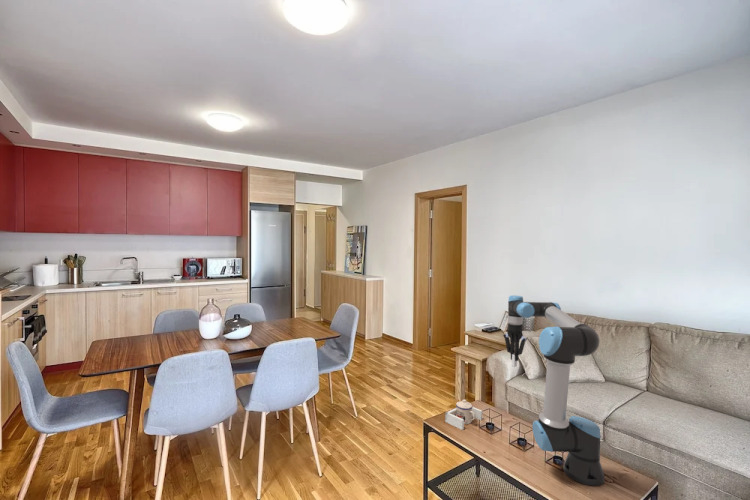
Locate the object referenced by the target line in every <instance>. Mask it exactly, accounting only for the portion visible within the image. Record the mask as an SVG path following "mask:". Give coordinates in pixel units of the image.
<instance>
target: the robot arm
mask: <svg viewBox="0 0 750 500" xmlns="http://www.w3.org/2000/svg"><path fill="white" fill-rule="evenodd" d="M507 303H508V306H507V307H508V309H507V313H508V314H507V317H508V318H507V322H508V323H507V333H505V334H502V335H503V337H504V342H505V346H506V351H507V353H509V354H510V360H511V367H514V368H515V367H517V366H518V361H519V356H521V355H522V354H523V352H524V348H525V344H526V341H527V340H528V338H527V337H526V336H525V337H524V335H523V327H524V326H523V322H524V321H523V320H524V319H523V318H526V319H528V318H531V317H534V318H535V317H537V318H546V319H547V320H548V321H550V322H551V323H553V325H555V326H547V327H545V328H543V330H542V331H541V332H540V335H539V338H538V346H539V350H540V352H541V354H542V355H543V357H544V360H545V361H547V362H546V373H545V387H544V400H543V411H542V412H540V413H539V415H538V420H533V422H532V434H533V437H534V440H535V443H536V444H537V446H538V447H539V449H540V450H542V451H544V452H550V453H553V452H555V453H556V452H557V453H558V452H563V453H564V452H565V453H567V455H566V458H565V461H564V463H563V472H564V473H565V475H566V476H567V477H568V478H570V479H571V480H573V481H575V482H577V483H579V484H583V485H585V486H591V487H596V486H601V485H603V484H604V483H605V473H604V469H603V466H602V464H601V438H602V437H601V435H602V434H601V428H600V427H599V426H598V424H596V423H595V422H594V421H592V420H590V419H588V418H585V417H581V416H576V415H572V416H569V419H567V418H566V417H567V405H568V404H567V403H568V394H569V385H570V384H569V383H570V371H571V370H570V369H571V365H574V364H575V362H576V357H586V356H590V355H592V354H594V353H595V352H596V351H598V348H599V346H600V336H599V334H598V332H596V330H595V329H594V328H592V327H591V326H589V325H588V324H585V323H581V322H579V321H578V320H576V319H575V318H573V317H571V316H570V315H569V314H567V313H565V312H564V311H563V310H562V308H561V306H560V304H559V303H557V302H552V301H547V302H545V301H544V302H543V301H542V302H539V301H537V302H536V301H524V298H523V296H521V295H515V294H514V295H509V296H508V302H507Z"/></svg>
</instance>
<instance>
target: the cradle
mask: <svg viewBox="0 0 750 500" xmlns="http://www.w3.org/2000/svg"><path fill="white" fill-rule="evenodd" d="M472 411H473V412H474V414H475V419H476V420H479V421H483V410H481V409H479V408H476V407H474V406H473V407H472ZM472 418H473V414H472ZM444 422H445V423H447V424H449V425H451V426H453V427H456V428H457V429H459V430H462V431H463V430H465V424H464V420H463V419H461V418H459V417H457V416H456V407H455V408H453V409H451V410H448V411H446V412H444Z"/></svg>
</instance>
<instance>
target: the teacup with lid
mask: <svg viewBox="0 0 750 500" xmlns="http://www.w3.org/2000/svg"><path fill="white" fill-rule="evenodd" d="M455 406H456V407H455V408H456V416H457V417H459V418H461V419H463V420H464V425H469V424H471V423H472V421H474V420H475V419H476V418H475V414H474V412H473V411H472V407H474V406H473V405H472V403H471V402H469V401H467V400H466V399H462V400H461V401H457V402H456V404H455ZM472 414H473V417H472Z"/></svg>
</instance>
